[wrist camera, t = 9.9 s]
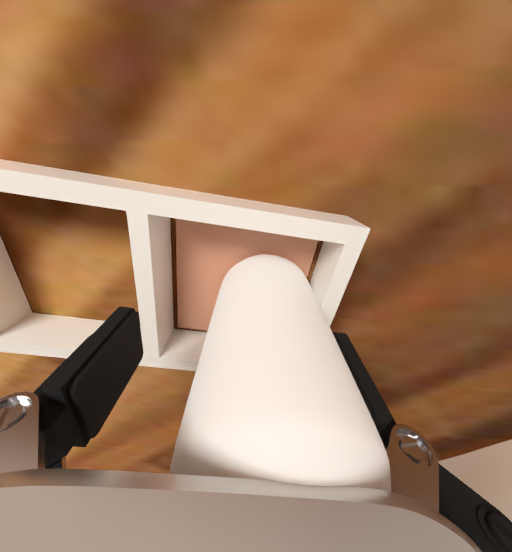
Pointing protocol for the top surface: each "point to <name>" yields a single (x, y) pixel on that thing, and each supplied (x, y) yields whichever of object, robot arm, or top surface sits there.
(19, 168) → the caddy
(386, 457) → the can
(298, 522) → the robot arm
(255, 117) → the top surface
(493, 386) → the top surface
